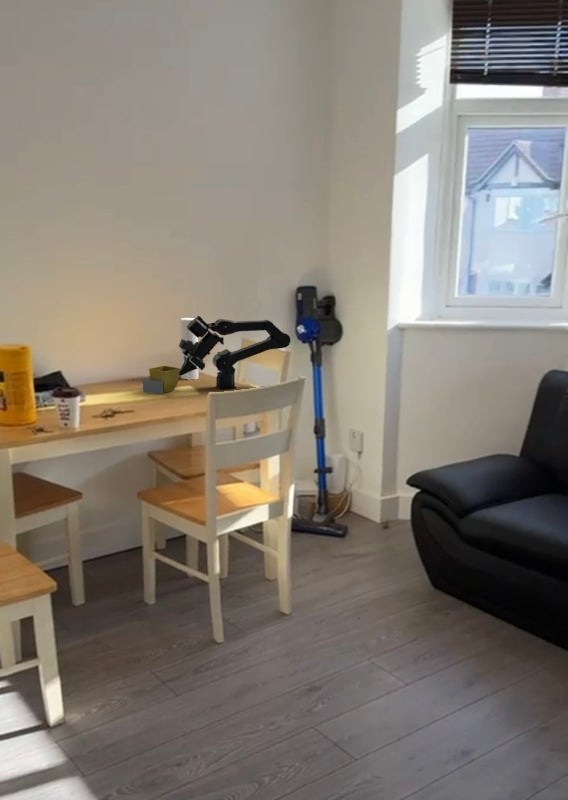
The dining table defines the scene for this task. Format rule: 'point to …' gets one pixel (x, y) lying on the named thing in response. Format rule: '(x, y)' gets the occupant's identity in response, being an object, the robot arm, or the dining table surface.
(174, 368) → the flower pot
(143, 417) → the dining table surface
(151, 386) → the V-block
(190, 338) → the cylindrical container
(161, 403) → the dining table surface
